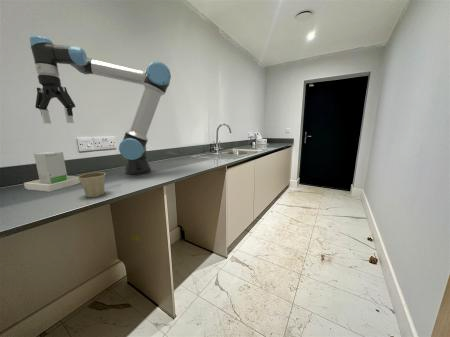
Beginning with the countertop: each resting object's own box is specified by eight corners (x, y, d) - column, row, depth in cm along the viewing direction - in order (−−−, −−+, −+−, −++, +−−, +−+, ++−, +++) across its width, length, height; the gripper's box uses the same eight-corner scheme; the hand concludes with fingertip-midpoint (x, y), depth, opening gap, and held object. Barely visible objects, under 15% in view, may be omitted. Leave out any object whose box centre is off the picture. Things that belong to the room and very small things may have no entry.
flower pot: (87, 201, 69) (83, 179, 67) (76, 196, 74) (73, 175, 72) (112, 193, 77) (110, 174, 75) (102, 189, 81) (99, 171, 80)
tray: (82, 182, 93) (81, 176, 92) (49, 191, 79) (48, 185, 78) (60, 180, 96) (59, 175, 95) (25, 189, 82) (23, 183, 81)
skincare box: (50, 187, 82) (43, 153, 79) (39, 186, 84) (32, 153, 80) (69, 182, 90) (63, 151, 87) (59, 181, 92) (53, 151, 88)
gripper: (17, 75, 82) (29, 123, 86) (62, 71, 78) (72, 122, 82) (36, 80, 89) (46, 123, 94) (79, 76, 85) (87, 122, 89)
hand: (58, 123), depth 88 cm, fingers open, 13 cm apart
